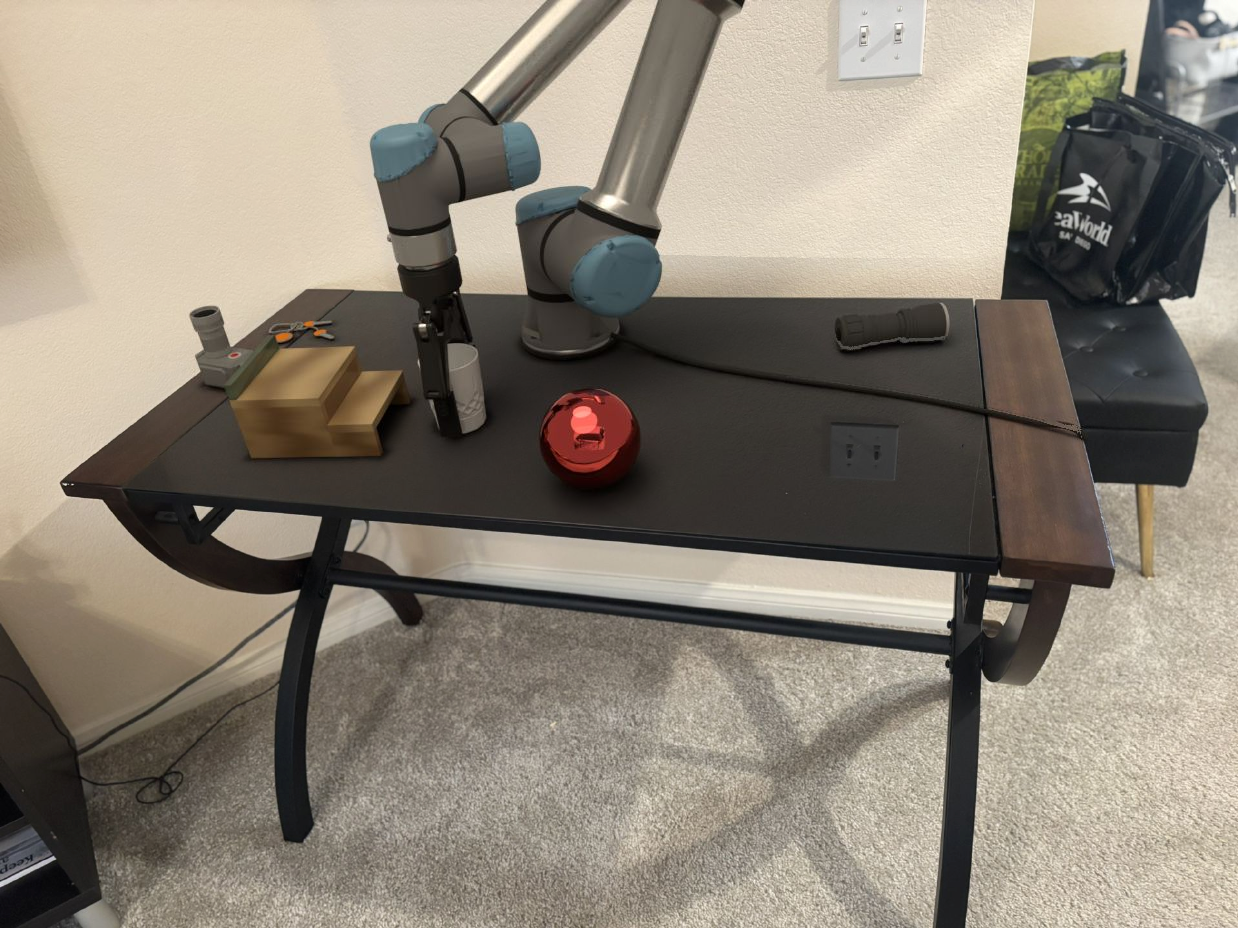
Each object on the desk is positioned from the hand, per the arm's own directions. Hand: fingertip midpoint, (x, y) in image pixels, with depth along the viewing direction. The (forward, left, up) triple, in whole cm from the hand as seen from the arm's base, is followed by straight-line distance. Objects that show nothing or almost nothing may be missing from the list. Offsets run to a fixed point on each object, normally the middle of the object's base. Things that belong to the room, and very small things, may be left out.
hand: (460, 415), depth 123 cm
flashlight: (-60, -19, -1) cm, 63 cm away
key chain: (+34, -29, -1) cm, 45 cm away
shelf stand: (+18, +1, -1) cm, 18 cm away
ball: (-20, +14, -1) cm, 24 cm away
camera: (+36, -12, -1) cm, 38 cm away
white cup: (0, 0, -1) cm, 1 cm away
